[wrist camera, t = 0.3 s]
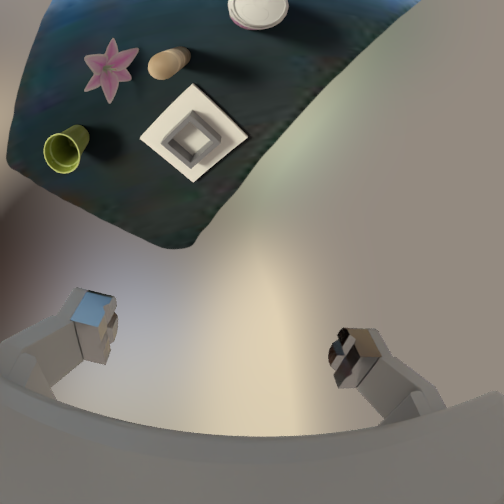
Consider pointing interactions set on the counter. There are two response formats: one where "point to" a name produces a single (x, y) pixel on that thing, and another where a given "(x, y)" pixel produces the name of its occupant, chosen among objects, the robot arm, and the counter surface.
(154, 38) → the counter surface
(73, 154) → the plant pot
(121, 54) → the lily
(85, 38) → the counter surface
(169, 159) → the docking plate
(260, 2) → the supplement can
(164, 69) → the beech peg
